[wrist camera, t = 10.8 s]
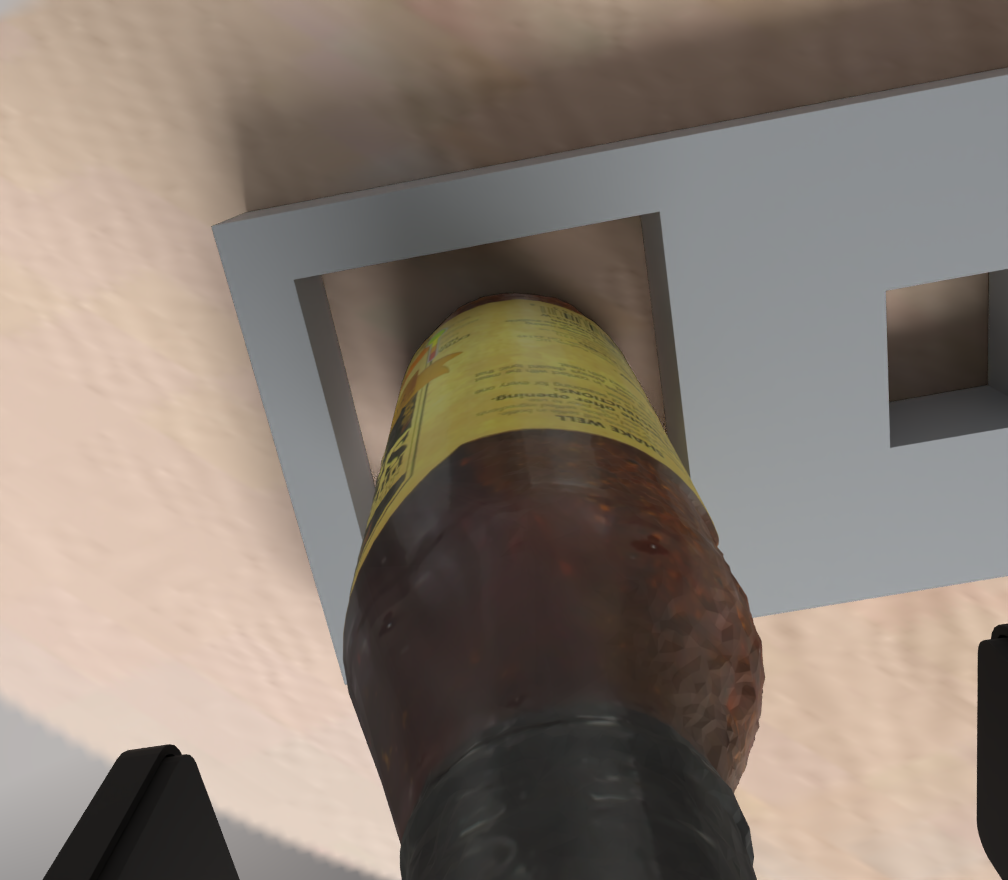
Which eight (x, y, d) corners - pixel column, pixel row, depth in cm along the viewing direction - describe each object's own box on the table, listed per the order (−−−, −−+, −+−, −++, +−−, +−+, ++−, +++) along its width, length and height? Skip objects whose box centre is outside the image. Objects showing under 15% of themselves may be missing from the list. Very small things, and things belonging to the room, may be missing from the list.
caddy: (1156, 38, 21) (1256, 27, 19) (1123, 497, 26) (1201, 544, 23) (245, 212, 23) (211, 226, 20) (360, 625, 27) (344, 684, 24)
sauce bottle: (377, 314, 24) (-47, 1055, 5) (606, 260, 23) (1093, 846, 4) (439, 528, 26) (307, 1603, 7) (648, 482, 25) (1094, 1496, 7)
